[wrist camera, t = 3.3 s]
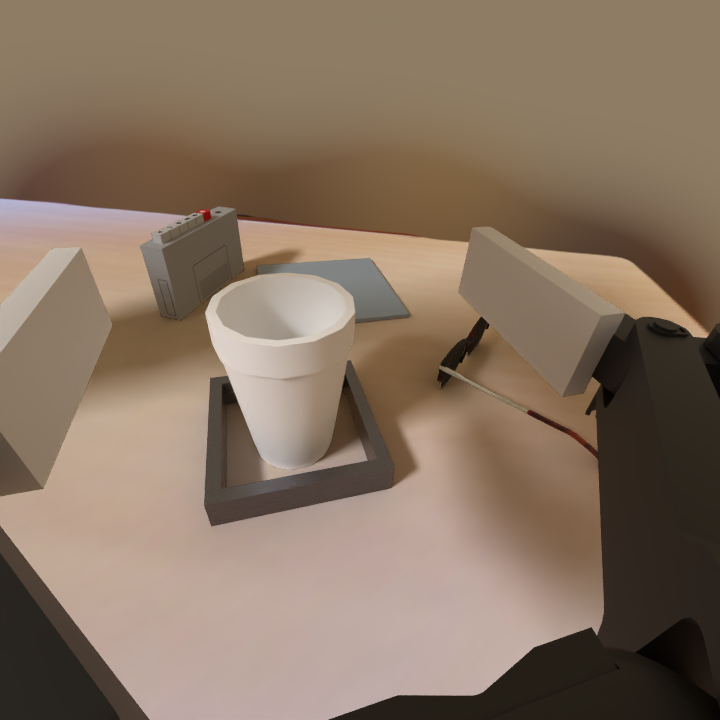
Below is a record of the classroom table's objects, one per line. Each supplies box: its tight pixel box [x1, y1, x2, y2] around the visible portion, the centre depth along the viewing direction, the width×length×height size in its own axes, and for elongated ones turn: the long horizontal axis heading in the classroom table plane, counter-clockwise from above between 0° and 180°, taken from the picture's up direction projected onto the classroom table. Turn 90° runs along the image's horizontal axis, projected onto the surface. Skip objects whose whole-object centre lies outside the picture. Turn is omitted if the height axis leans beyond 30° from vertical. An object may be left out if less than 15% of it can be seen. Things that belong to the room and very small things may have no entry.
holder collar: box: [204, 360, 394, 526], centre depth 32 cm, size 13×13×2 cm
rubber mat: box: [257, 258, 410, 323], centre depth 54 cm, size 18×18×1 cm
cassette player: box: [140, 207, 244, 320], centre depth 50 cm, size 16×3×10 cm, turn 165°
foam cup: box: [205, 273, 355, 470], centre depth 29 cm, size 10×9×13 cm
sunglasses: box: [437, 316, 598, 459], centre depth 38 cm, size 14×16×5 cm
